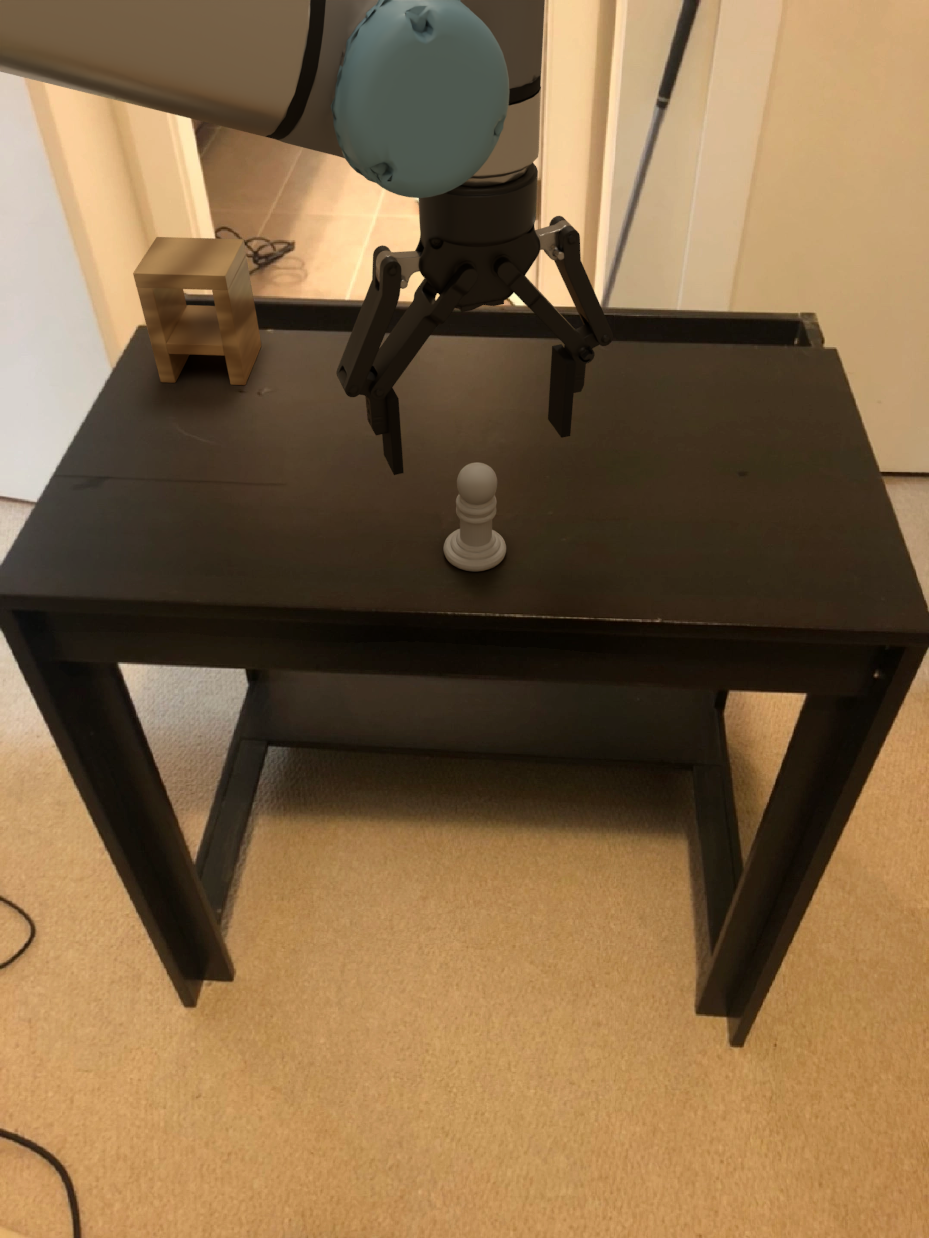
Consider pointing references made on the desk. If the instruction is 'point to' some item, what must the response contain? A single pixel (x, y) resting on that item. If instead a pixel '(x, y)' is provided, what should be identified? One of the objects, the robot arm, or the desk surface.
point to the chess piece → (475, 521)
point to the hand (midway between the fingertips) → (477, 445)
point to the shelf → (192, 325)
